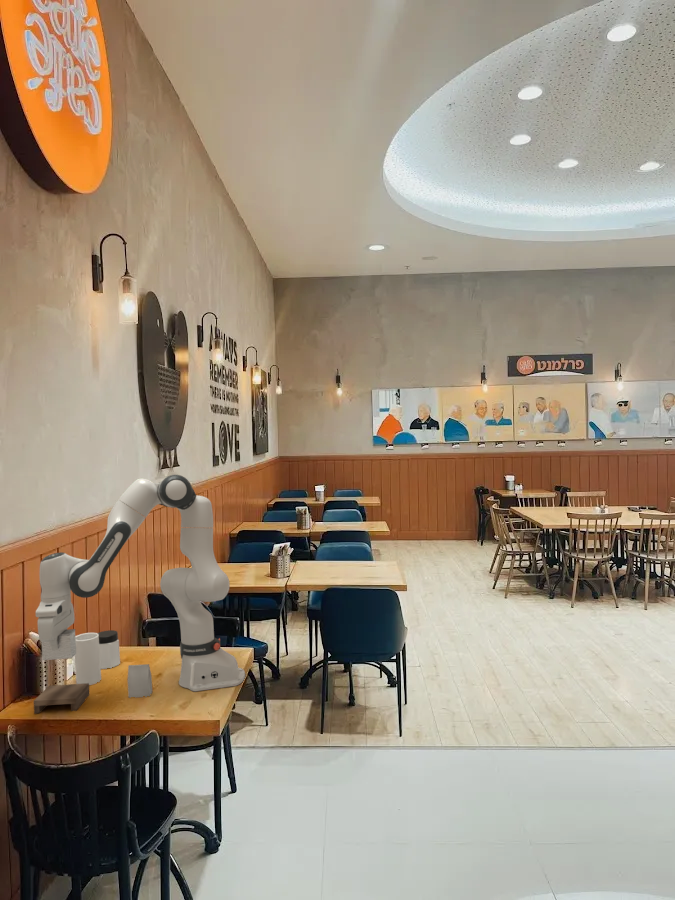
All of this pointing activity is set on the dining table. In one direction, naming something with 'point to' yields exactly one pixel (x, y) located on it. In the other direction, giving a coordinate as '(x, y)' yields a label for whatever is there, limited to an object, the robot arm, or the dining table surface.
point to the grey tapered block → (139, 681)
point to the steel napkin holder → (61, 646)
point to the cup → (87, 658)
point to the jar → (109, 649)
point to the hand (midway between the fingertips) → (59, 646)
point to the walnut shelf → (62, 696)
